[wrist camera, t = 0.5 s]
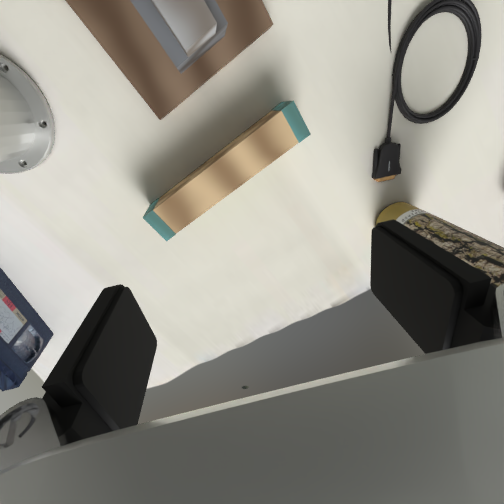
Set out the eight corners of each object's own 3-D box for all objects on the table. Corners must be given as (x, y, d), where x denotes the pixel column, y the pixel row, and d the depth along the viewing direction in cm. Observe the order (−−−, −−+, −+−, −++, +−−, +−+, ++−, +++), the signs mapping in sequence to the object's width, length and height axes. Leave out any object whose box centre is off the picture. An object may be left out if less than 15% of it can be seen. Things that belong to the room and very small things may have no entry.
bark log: (369, 213, 43) (538, 321, 21) (408, 193, 42) (626, 283, 20) (378, 245, 46) (532, 368, 24) (414, 227, 45) (607, 336, 24)
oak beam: (171, 226, 39) (166, 241, 34) (150, 204, 37) (142, 217, 32) (297, 131, 35) (310, 134, 31) (281, 101, 33) (293, 100, 29)
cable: (504, -113, 27) (519, -124, 26) (451, 162, 41) (459, 164, 40) (381, -92, 27) (389, -102, 26) (369, 181, 41) (374, 183, 39)
